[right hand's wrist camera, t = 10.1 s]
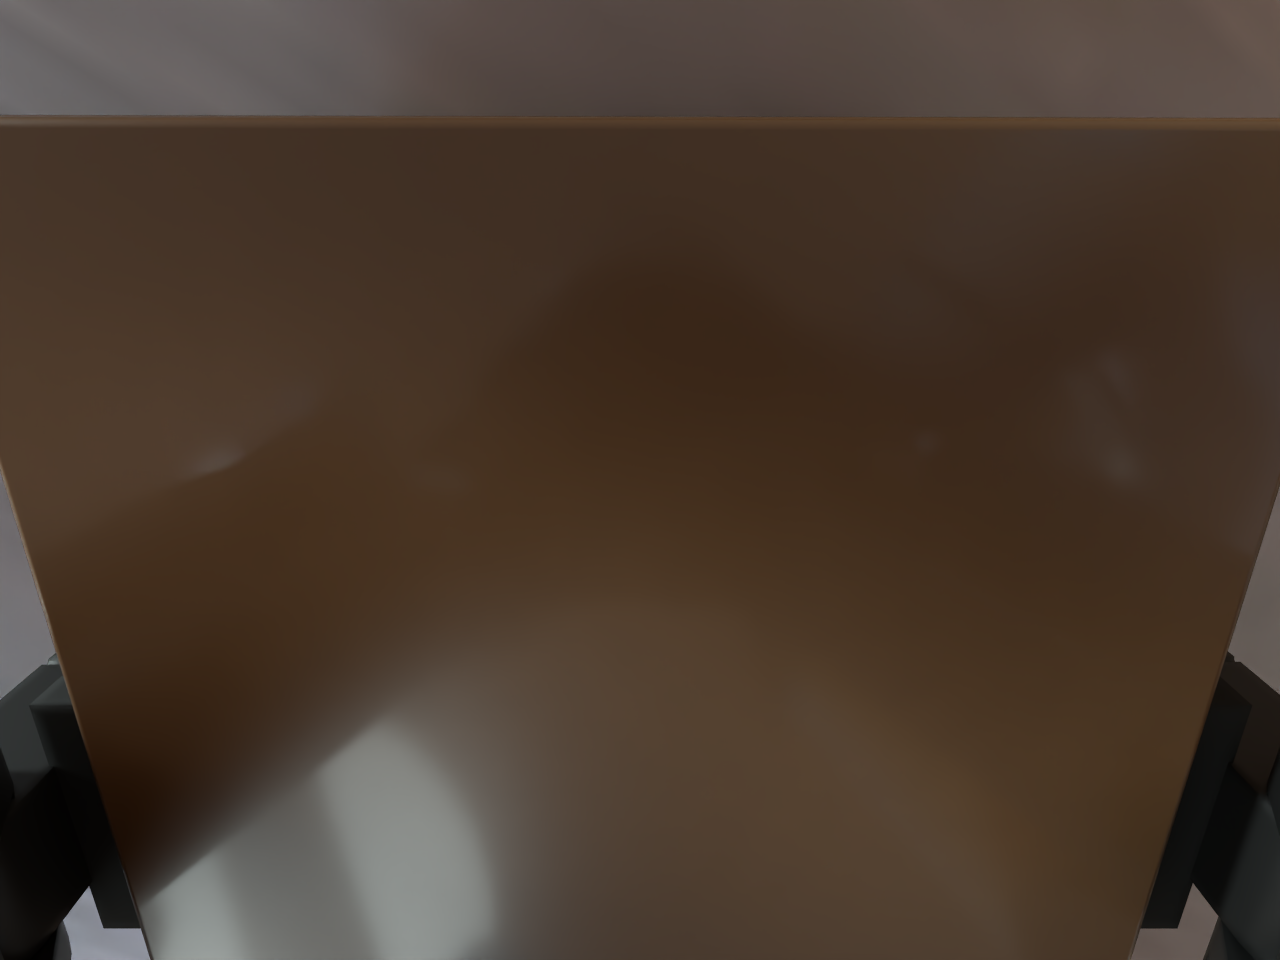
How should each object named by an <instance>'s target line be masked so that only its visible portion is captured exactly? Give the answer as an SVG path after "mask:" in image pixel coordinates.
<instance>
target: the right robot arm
mask: <svg viewBox="0 0 1280 960" xmlns="http://www.w3.org/2000/svg"><path fill="white" fill-rule="evenodd" d="M1192 883H1194V885H1195V886H1196V887H1197V888H1198V890H1199V891H1200V892H1201V894H1202V895H1203V896H1204V898H1205V899H1206V900H1207V902H1208V903H1209V904H1210V906H1211V907H1212V908H1213V909H1214V911H1215V912H1216V913H1217V915H1218V916H1219V917H1218V920H1217V922H1216V925H1215V928H1214V931H1213V934H1212V936H1211V939H1210V942H1209V945H1208V948H1207V950H1206V953H1205V956H1204V959H1203V960H1280V695H1279V694H1278V693H1277V692H1276V691H1274V690H1273V689H1272V688H1271V687H1270V686H1269V685H1267V684H1266V683H1265V682H1264V681H1263V680H1261V679H1260V678H1259V677H1258V676H1257V675H1255V674H1254V673H1253V672H1252V671H1251V670H1249V669H1248V668H1247V667H1246V666H1245V665H1243V664H1242V663H1241V662H1235V661H1234V656H1233V655H1232V654H1230V653H1229V652H1228V651H1227V655H1226V658H1225V661H1224V664H1223V667H1222V670H1221V674H1220V677H1219V680H1218V683H1217V686H1216V690H1215V693H1214V696H1213V699H1212V702H1211V705H1210V709H1209V712H1208V715H1207V718H1206V721H1205V725H1204V728H1203V731H1202V734H1201V737H1200V740H1199V744H1198V747H1197V750H1196V753H1195V756H1194V759H1193V763H1192V766H1191V769H1190V772H1189V775H1188V779H1187V782H1186V785H1185V788H1184V791H1183V794H1182V798H1181V801H1180V804H1179V807H1178V810H1177V814H1176V817H1175V820H1174V823H1173V826H1172V829H1171V833H1170V836H1169V839H1168V842H1167V845H1166V848H1165V852H1164V855H1163V858H1162V861H1161V864H1160V868H1159V871H1158V874H1157V877H1156V880H1155V883H1154V887H1153V890H1152V893H1151V896H1150V899H1149V903H1148V906H1147V909H1146V912H1145V915H1144V918H1143V922H1142V925H1141V928H1178V925H1179V922H1180V919H1181V916H1182V913H1183V910H1184V907H1185V904H1186V901H1187V898H1188V895H1189V892H1190V889H1191V886H1192ZM88 886H90V889H91V892H92V895H93V898H94V901H95V904H96V907H97V910H98V913H99V916H100V919H101V922H102V925H103V928H141V927H140V924H139V921H138V917H137V914H136V911H135V908H134V904H133V901H132V898H131V895H130V891H129V888H128V885H127V882H126V878H125V875H124V872H123V869H122V865H121V862H120V859H119V856H118V852H117V849H116V846H115V843H114V839H113V836H112V833H111V830H110V826H109V823H108V820H107V817H106V813H105V810H104V807H103V804H102V800H101V797H100V794H99V791H98V787H97V784H96V781H95V778H94V774H93V771H92V768H91V765H90V761H89V758H88V755H87V752H86V748H85V745H84V742H83V739H82V735H81V732H80V729H79V726H78V722H77V719H76V716H75V713H74V709H73V706H72V703H71V700H70V696H69V693H68V690H67V687H66V683H65V680H64V677H63V674H62V670H61V667H60V664H59V661H58V657H57V654H56V653H55V654H54V655H53V656H52V657H51V658H49V659H48V664H47V665H41V666H40V667H39V668H38V669H36V670H35V671H34V672H33V673H32V674H30V675H29V676H28V677H27V678H26V679H25V680H23V681H22V682H21V683H20V684H19V685H17V686H16V687H15V688H14V689H13V690H12V691H10V692H9V693H8V694H7V695H6V696H4V697H3V698H2V699H1V700H0V960H71V955H72V953H71V947H70V942H69V936H68V934H67V931H66V928H65V925H64V922H63V919H64V918H65V917H66V915H67V914H68V913H69V911H70V910H71V909H72V907H73V906H74V905H75V904H76V902H77V901H78V900H79V898H80V897H81V896H82V894H83V893H84V892H85V890H86V889H87V888H88Z"/></svg>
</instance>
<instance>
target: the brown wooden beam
mask: <svg viewBox="0 0 1280 960" xmlns="http://www.w3.org/2000/svg"><path fill="white" fill-rule="evenodd" d="M0 472H1V475H2V478H3V482H4V485H5V488H6V491H7V495H8V498H9V501H10V504H11V508H12V511H13V514H14V517H15V521H16V524H17V527H18V530H19V534H20V537H21V540H22V543H23V547H24V550H25V553H26V556H27V560H28V563H29V566H30V569H31V573H32V576H33V579H34V582H35V586H36V589H37V592H38V595H39V599H40V602H41V605H42V608H43V612H44V615H45V618H46V622H47V625H48V628H49V631H50V635H51V638H52V641H53V644H54V648H55V651H56V654H57V657H58V661H59V664H60V667H61V670H62V674H63V677H64V680H65V683H66V687H67V690H68V693H69V696H70V700H71V703H72V706H73V709H74V713H75V716H76V719H77V722H78V726H79V729H80V732H81V735H82V739H83V742H84V745H85V748H86V752H87V755H88V758H89V761H90V765H91V768H92V771H93V774H94V778H95V781H96V784H97V787H98V791H99V794H100V797H101V800H102V804H103V807H104V810H105V813H106V817H107V820H108V823H109V826H110V830H111V833H112V836H113V839H114V843H115V846H116V849H117V852H118V856H119V859H120V862H121V865H122V869H123V872H124V875H125V878H126V882H127V885H128V888H129V891H130V895H131V898H132V901H133V904H134V908H135V911H136V914H137V917H138V921H139V924H140V927H141V930H142V934H143V937H144V940H145V943H146V947H147V950H148V953H149V956H150V960H1131V957H1132V953H1133V950H1134V947H1135V944H1136V941H1137V938H1138V934H1139V931H1140V928H1141V925H1142V922H1143V918H1144V915H1145V912H1146V909H1147V906H1148V903H1149V899H1150V896H1151V893H1152V890H1153V887H1154V883H1155V880H1156V877H1157V874H1158V871H1159V868H1160V864H1161V861H1162V858H1163V855H1164V852H1165V848H1166V845H1167V842H1168V839H1169V836H1170V833H1171V829H1172V826H1173V823H1174V820H1175V817H1176V814H1177V810H1178V807H1179V804H1180V801H1181V798H1182V794H1183V791H1184V788H1185V785H1186V782H1187V779H1188V775H1189V772H1190V769H1191V766H1192V763H1193V759H1194V756H1195V753H1196V750H1197V747H1198V744H1199V740H1200V737H1201V734H1202V731H1203V728H1204V725H1205V721H1206V718H1207V715H1208V712H1209V709H1210V705H1211V702H1212V699H1213V696H1214V693H1215V690H1216V686H1217V683H1218V680H1219V677H1220V674H1221V670H1222V667H1223V664H1224V661H1225V658H1226V655H1227V651H1228V648H1229V645H1230V642H1231V639H1232V636H1233V632H1234V629H1235V626H1236V623H1237V620H1238V616H1239V613H1240V610H1241V607H1242V604H1243V601H1244V597H1245V594H1246V591H1247V588H1248V585H1249V581H1250V578H1251V575H1252V572H1253V569H1254V566H1255V562H1256V559H1257V556H1258V553H1259V550H1260V546H1261V543H1262V540H1263V537H1264V534H1265V531H1266V527H1267V524H1268V521H1269V518H1270V515H1271V512H1272V508H1273V505H1274V502H1275V499H1276V496H1277V492H1278V489H1279V486H1280V118H1055V117H635V116H216V115H0Z"/></svg>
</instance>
